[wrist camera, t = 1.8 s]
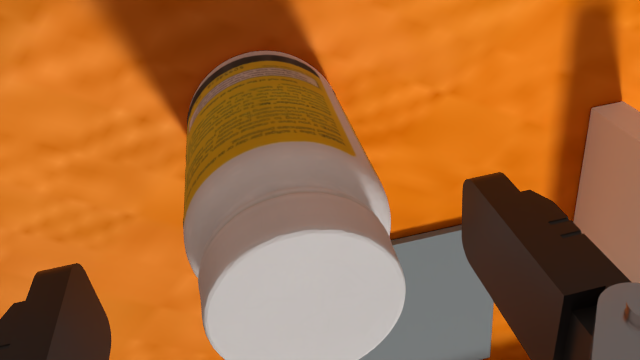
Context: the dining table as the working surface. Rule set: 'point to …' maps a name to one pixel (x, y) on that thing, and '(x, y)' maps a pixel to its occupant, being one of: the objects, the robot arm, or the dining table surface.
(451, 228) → the pad
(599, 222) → the corner arena
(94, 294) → the robot arm
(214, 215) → the supplement bottle
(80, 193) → the dining table surface
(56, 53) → the dining table surface
